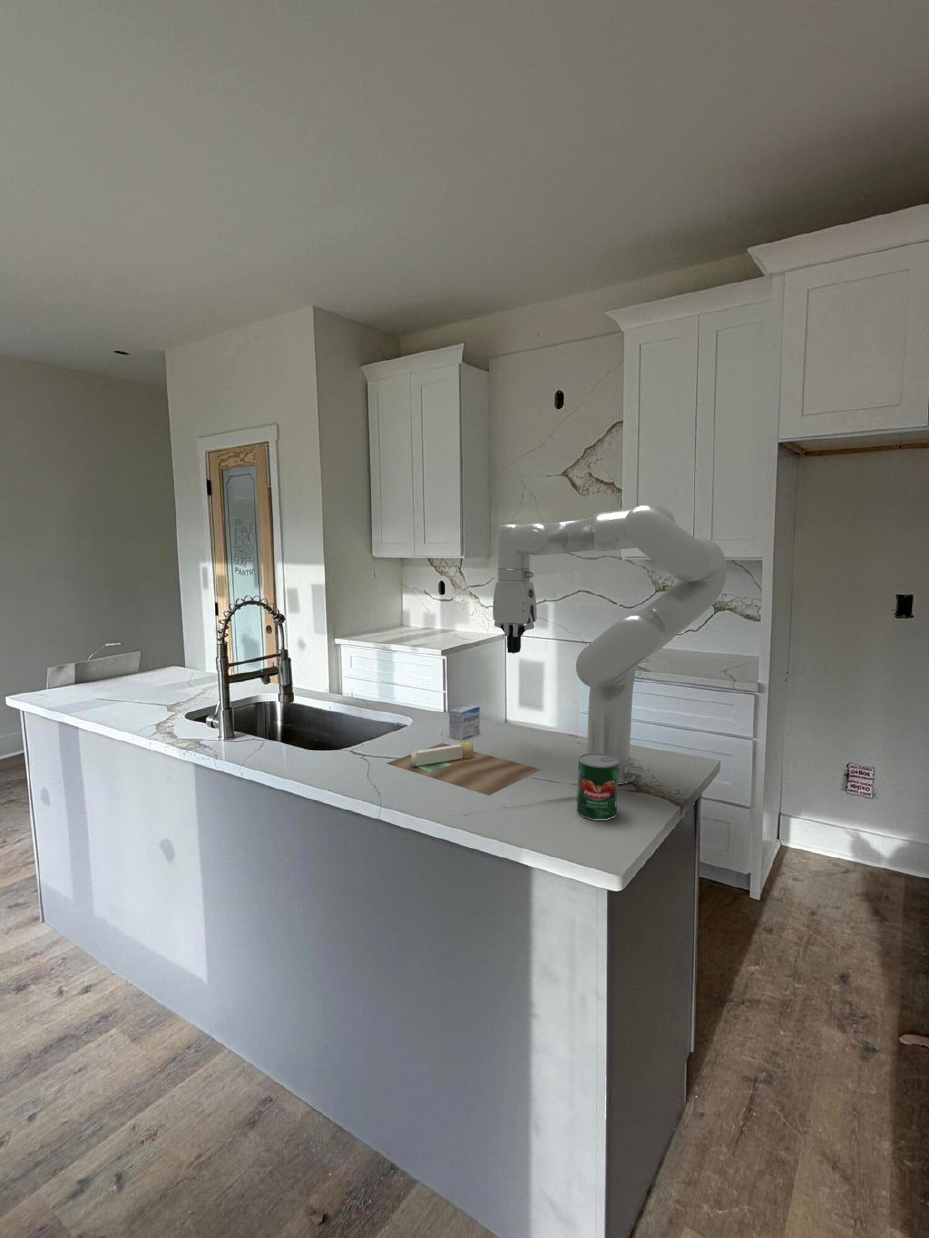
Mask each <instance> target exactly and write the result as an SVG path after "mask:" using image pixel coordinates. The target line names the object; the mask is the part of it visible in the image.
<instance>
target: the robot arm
mask: <svg viewBox="0 0 929 1238" xmlns="http://www.w3.org/2000/svg"><path fill="white" fill-rule="evenodd" d="M635 548H636V549H637V550H639V551H640V552H641V553H642V554H644V555H645V556H646V557H648V559H650V560H652V561H653V562H654V563H655V564H657V565H658V566H659V567H661V568H662V569H663V570H664V571H666V573H668V574H670V575H671V576H672V577H674V578H676V579H677V580H678V581H677V582H676V583H675V584H674V585H673V586H671V587H669V588H668V589H667V590H666V591H665V592H664V593H662V594H661V595H659V597H658V598H656V599H655V600H653V602H651V603H650V604H648V605H647V606H646V607H644V608H642V609H640V610H636V611H635V612H631V613H629V614H627V615H624V616H623V617H621V618H620V619H619V620H618V621H616V622H614V624H613V625H611V626H610V627H609V628H607V629H606V630H605V631H603V632H602V633H601V634H600V635H599V636H597V637H596V638H595V639H594V640H592V641H591V642H590V643H589V644H588V645H586V646H585V647H584V648H583V649H582V650H581V651H580V653H579V654H578V656H577V659H576V664H575V669H576V674H577V677H578V678H579V680H580V681H581V683H583V684H584V685H586V686H587V687H589V694H588V712H587V715H588V716H587V743H586V744H587V745H586V754H588V753H602V754H608V755H612V756H614V757H616V758H617V759H618V760H619V771H618V783H619V784H620V783H625V782H629V781H631V780H634V779H635V778H638V779H644V778H645V776H646V768H645V766H641V765H636V764H635V757H631V755H630V754H631V732H632V731H631V729H632V713H633V712H632V711H633V692H634V684H635V676H636V670H637V666H639V664H641V663H642V662H643V661H645V660H646V659H648V658H649V657H650V656H652V655H653V654H655V653H657V652H659V651H660V650H661V649H663V648H664V647H665V646H666V645H667V644H668V643H669V642H670V641H671V640H673V638H675V637H676V636H677V635H679V634H680V633H681V632H683V631H684V630H685V629H686V628H688V627H689V626H690V625H691V624H692V623H694V622H695V621H696V620H697V619H699V618H700V617H701V616H702V615H703V614H705V613H706V612H707V611H708V610H709V609H710V608H711V607H712V606H713V605H714V604H715V602H716V601H717V599H718V598H719V597H720V595H721V594H722V592H723V589H724V587H725V584H726V580H727V574H728V573H727V571H728V570H727V569H728V568H727V567H728V566H727V560H726V557H725V554H724V552H723V549H722V548H721V547H720V546H719V544H717V543H716V542H715V541H713V540H712V539H707V538H703V537H701V538H699V537H697V538H696V537H695V536H694V535H691V533H689V532H688V531H686V530H685V529H683V528H682V527H681V526H679V525H678V524H677V523H676V520H675V516H674V515H673V513H672V511H671V510H669V509H668V508H666V507H664V506H662V505H656V504H641V505H638V506H635V507H632V508H628V509H627V508H626V509H618V510H609V511H602V512H598V513H595V514H593V516H591V517H588V518H583V519H576V520H569V521H568V520H567V521H561V522H560V521H559V522H540V521H539V522H532V523H525V524H523V523H506V524H501V525H500V526H498V529H497V581H496V582H495V584H494V585H495V586H494V591H493V599H492V600H493V601H492V619H493V620H494V624H493V626H494V627H497V628H499V629H501V630H502V631H503V633H504V636H505V637H506V648H507V654H517V653H520V652H521V648H522V636H523V635H524V633H525V632H526V631H528V630H534V628H535V624H534V623H536V622H537V619H538V615H537V613H538V612H537V599H536V592H535V591H536V590H535V587H534V582H532V581H530V580H531V578H534V575H535V573H534V571H531V568H530V564H531V563H530V561H531V560H530V559H531V558H530V555H531V556H549V555H551V556H552V555H559V554H560V555H561V554H569V553H570V554H571V553H578V552H579V553H580V552H590V551H595V552H609V551H617V550H627V549H635ZM635 780H636V779H635ZM635 780H634V781H635Z"/></svg>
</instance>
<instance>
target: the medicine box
mask: <svg viewBox="0 0 929 1238" xmlns="http://www.w3.org/2000/svg"><path fill="white" fill-rule="evenodd" d="M480 708H481V707H480V706H478V705H474V704H465V705H461V706H459V707H456V708H453V709H450V710H449V711H448V712H449V714H448V717H449V719H448V720H449V721H448V723H449V725H448V728H449V729H448V732H449V733H448V734H449V735H448V737H449V738H451V739H455V740H459V741H465V740H466V739H470V738H471V737H474V736H476V735H479V734H480V725H481V724H480V723H481V722H480V715H481V713H480V712H481V711H480Z"/></svg>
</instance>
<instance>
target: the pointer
mask: <svg viewBox="0 0 929 1238" xmlns="http://www.w3.org/2000/svg"><path fill="white" fill-rule="evenodd" d="M425 749H426V750H425ZM425 749H420V750H414V751H411V752H410V753H411V754H410V755H411V765H412V766H420V765H426V764H432V763H438V762H444V761H450V760H456V759H462V758H464V759H469V758H473V751H474V742H473V740H460V742H459V744H453V745H452V746H445V747H439V748H432V749H427V748H425Z"/></svg>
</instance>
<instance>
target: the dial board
mask: <svg viewBox="0 0 929 1238" xmlns="http://www.w3.org/2000/svg"><path fill="white" fill-rule="evenodd" d="M445 746H452V745H450V744H447V743H444V742H442V743H438V744H436V745H433V746H431V747H427V748H425V749H424V750H426V749H432V748H439V747H445ZM386 764H387V765H391V766H393V767H397V768H400V769H403V770H406V771H409V772H413V773H416V774H419V775H423V776H425V777H428V778H431V779H435V780H438V781H441V782H445V783H448V784H450V785H453V786H454V785H455V786H458V787H461V788H464V789H467V790H469V791H470V790H471V791H474V792H476V793H477V792H478V793H480V794H483V795H485V796H491V795H492V794H495V793H496V792H499V791H501V790H503V789H505V788H508V787H509V786H512V785H513V784H514V783H517V782H520V781H521V780H523V779H525V778H528V777H531V776H532V775H533V774H535V773H537V772H540V771H542V768H538V767H534V766H530V765H527V764H526V765H525V764H523V763H519V762H515V761H511V760H509V759H505V758H502V757H501V758H500V757H496V756H492V755H488V754H484V753H482V752H477V751H474V750H473V758H469V759H464V758H462V759H456V760H450V761H444V762H438V763H432V764H426V765H420V766H412V765H411V754H408V755H405V756H403V757H400V758H398V759H397V758H396V759H395V760H392V761H389V762H386Z"/></svg>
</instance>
